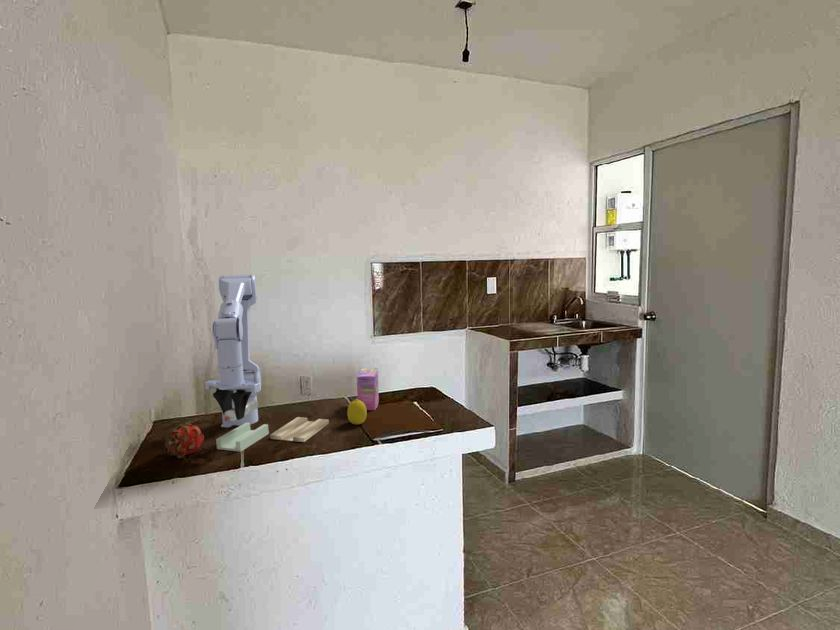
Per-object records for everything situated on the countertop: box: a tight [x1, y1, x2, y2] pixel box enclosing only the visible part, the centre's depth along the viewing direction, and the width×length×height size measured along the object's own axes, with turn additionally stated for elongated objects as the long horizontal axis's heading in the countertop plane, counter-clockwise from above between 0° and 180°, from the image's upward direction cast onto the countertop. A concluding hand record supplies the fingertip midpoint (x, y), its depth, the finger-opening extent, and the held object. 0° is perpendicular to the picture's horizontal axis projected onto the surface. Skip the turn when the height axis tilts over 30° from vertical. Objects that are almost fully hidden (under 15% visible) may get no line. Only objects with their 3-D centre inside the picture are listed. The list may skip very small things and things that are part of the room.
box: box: [356, 367, 380, 411], centre depth 150 cm, size 10×6×12 cm, turn 179°
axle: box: [224, 399, 259, 422], centre depth 122 cm, size 10×3×3 cm, turn 164°
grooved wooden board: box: [269, 416, 330, 443], centre depth 130 cm, size 10×14×2 cm
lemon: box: [347, 398, 368, 426], centre depth 135 cm, size 6×6×8 cm
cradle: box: [215, 423, 270, 453], centre depth 123 cm, size 7×12×4 cm, turn 164°
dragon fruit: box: [163, 422, 205, 459], centre depth 118 cm, size 8×8×12 cm
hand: (234, 417), depth 120 cm, fingers closed on axle, 3 cm apart
